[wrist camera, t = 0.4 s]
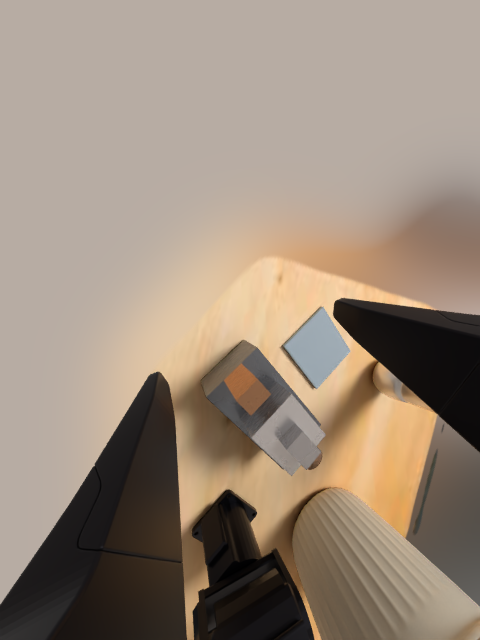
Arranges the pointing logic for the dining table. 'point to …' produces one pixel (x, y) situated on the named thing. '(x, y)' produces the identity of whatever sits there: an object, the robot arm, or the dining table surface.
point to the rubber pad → (317, 347)
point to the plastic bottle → (395, 387)
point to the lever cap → (284, 430)
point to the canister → (373, 577)
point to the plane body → (245, 386)
